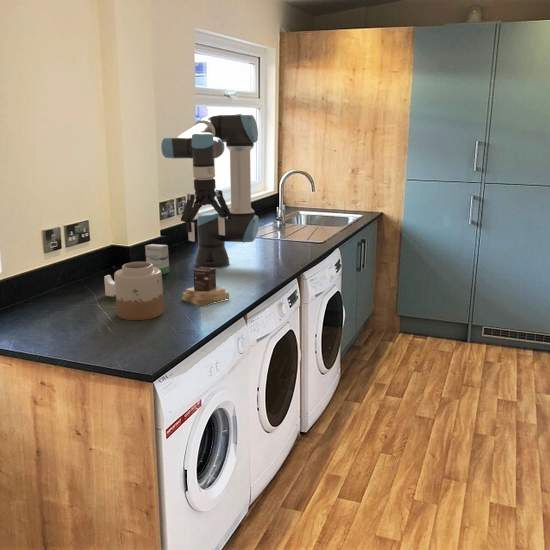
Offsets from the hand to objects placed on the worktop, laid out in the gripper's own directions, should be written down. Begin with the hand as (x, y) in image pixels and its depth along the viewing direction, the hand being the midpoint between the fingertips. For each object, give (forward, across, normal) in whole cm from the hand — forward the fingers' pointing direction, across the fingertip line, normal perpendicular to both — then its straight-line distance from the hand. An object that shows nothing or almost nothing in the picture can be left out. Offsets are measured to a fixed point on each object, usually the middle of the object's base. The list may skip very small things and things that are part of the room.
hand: (207, 237), depth 219 cm
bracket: (+22, -20, +26) cm, 40 cm away
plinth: (+21, -5, -4) cm, 22 cm away
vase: (+21, -30, -1) cm, 36 cm away
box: (+18, -5, -4) cm, 19 cm away
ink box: (+22, +5, +42) cm, 48 cm away
